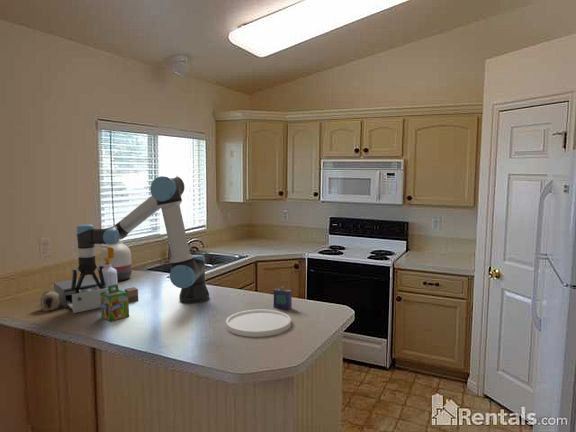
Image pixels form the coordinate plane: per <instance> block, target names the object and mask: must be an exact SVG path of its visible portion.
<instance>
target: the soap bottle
mask: <svg viewBox="0 0 576 432" xmlns="http://www.w3.org/2000/svg"><path fill="white" fill-rule="evenodd" d="M104 248H107V249H108V257H106V258H102V257H101V260H102V259H103V260H105V261H106V263H105V268H103V269H102V273H103V277H104V281H105V283H106V288H108V286H111V285H115V284H117V285H118V282H119V281H117V270H116V269H114V268H112V267H111V263H109V261H110V259H113V258H114V249H113V248H111V247H106V246H103V249H104ZM113 290H116V288H115V287H113Z"/></svg>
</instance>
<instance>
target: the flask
mask: <svg viewBox="0 0 576 432" xmlns="http://www.w3.org/2000/svg"><path fill="white" fill-rule="evenodd" d="M284 288H285V286H280V288H278V287H277V288H274V289H273V308H274V309H278V310H291V309H293V308H292V307H293V306H292V305H293V304H292V302H293V301H292V295H293V292H292V290H291V289H284Z"/></svg>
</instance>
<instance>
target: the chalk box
mask: <svg viewBox="0 0 576 432" xmlns="http://www.w3.org/2000/svg"><path fill="white" fill-rule="evenodd" d="M113 287H115V288H116V290H111V288H113ZM108 290H109V291H107V292H103V293H100V296H101V308H100V313H101V318H102V319H105V320H108V321H109V322H114V321H117V320H120V319H121V320H122V319H125V318H128V317H130V306H129V305H130V302H129V300H128V292H125V290H123V289H119V286H118V285H117V284H115V285H111V286H108Z"/></svg>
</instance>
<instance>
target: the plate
mask: <svg viewBox="0 0 576 432" xmlns="http://www.w3.org/2000/svg"><path fill="white" fill-rule="evenodd" d="M291 326H292V318H291V316H289V315H288V314H287V313H285V312H283V311H278V310H274V309H260V308H259V309H249V310H243V311H238V312H236V313H233V314H232V315H229V316H228V317H227V318H226V320H225V328H226V329H227V331H229V332H230V333H231V334H235V335H238V336H242V337H251V338H255V337H257V338H258V337H268V336H274V335H279V334H281V333H283V332H286V331H288V329H290V328H291Z"/></svg>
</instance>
